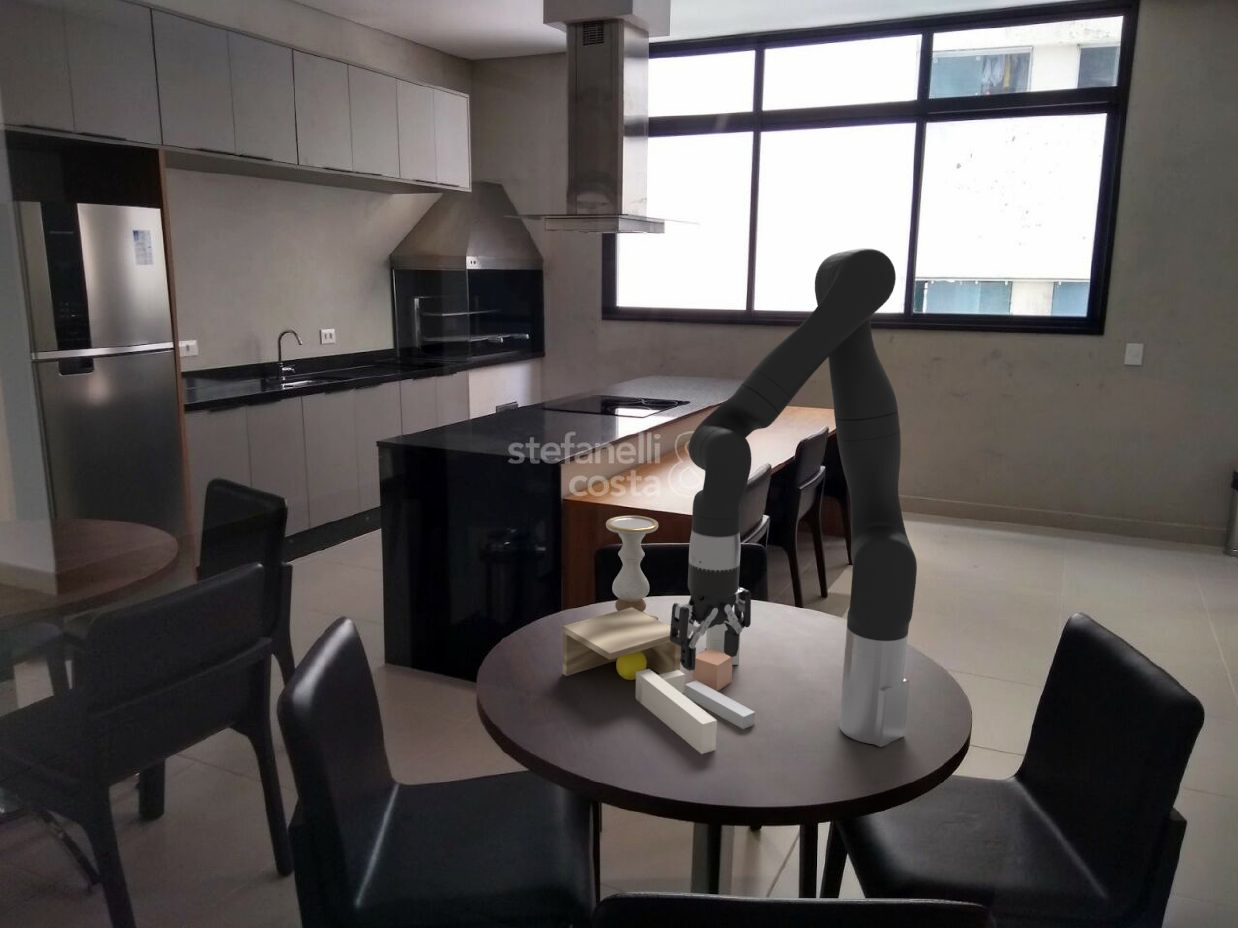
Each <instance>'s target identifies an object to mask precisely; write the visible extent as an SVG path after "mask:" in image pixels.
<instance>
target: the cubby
mask: <svg viewBox="0 0 1238 928" xmlns="http://www.w3.org/2000/svg"><path fill="white" fill-rule="evenodd" d="M644 613H645V612H644ZM644 613H642V612H640V611H638V610H636V609H634V608H632V607H631V608H628V609H624V610H620V611H617V610H616V612H615V611H613V612H609V613H605V614H602V615H598V616H595V617H590V618H587V619H583V620H580V621H576V622H573V623H569V624H565V625H562V674H563V675H564V676H566V677H568V676H571V675H574V674H577V673H580V672H584V671H587V670H590V669H593V668H597V667H600V666H603V665H606V664H610V663H613V662H617V659H618V657H622V656H625V655H628V654H631V653H635V652H638V651H642V652H643V654H644V655H645V657H646V661H647V665H646V667H647V668H648V669H650V670H652V671H655V673H656V672H657V673H658V674H663V673H667V672H671V671H676V670H679V671H681V663H680V656H681V646H679V645H677V644H675V643H673V642H672V641H670V628H671V625H668V624H666V623H664V622H662V621H660V620H659V619H658V620H656V619H654V618H652V617H650V616H648V615H649V614H647V613H646V614H647V615H646V614H644ZM678 635H679V631H678Z"/></svg>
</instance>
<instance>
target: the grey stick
mask: <svg viewBox="0 0 1238 928" xmlns="http://www.w3.org/2000/svg"><path fill="white" fill-rule="evenodd" d="M684 696H686V697H687V698H688V699H690V700H691V701H692V702H693V703H695V704H697V705H700V706H701V707H703V708H705V709H707V710H709V711H711V712H712V713H714V714H715V715H717V716H719V717H720V718H723V719H724V720H725V721H727V722H730V723H731V724H733V725H734V726H737V727H738V728H740V729H742V730H744V729H747V728H750V727H751V726H754V725H755V724H756V723H755V720H756V711H754V710H752V709H750V708H748V707H746V706H744V705H743V704H741V703H739V702H737V701H735V700H734V699H732V698H730V697H728V696H726V695H725V694H722V693H721V692H719V691H715V690H713V689H711V688H710V687H708V686H706V685H704V684H702V683H700V682H698V681H697V680H696V681H693V680H692V681H691V682H687V683H685V684H684Z"/></svg>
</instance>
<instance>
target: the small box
mask: <svg viewBox="0 0 1238 928" xmlns="http://www.w3.org/2000/svg"><path fill="white" fill-rule="evenodd" d="M732 610H733V612H734V606H733V608H732ZM726 630H727V628H726V627H725V626H724V624H721V625H715V626H713V627H711V628H707V630H706V637H705V638H706V640H705V642H706V643H705V647H706V648H705V649H706V650H707V649H712V650H715V651H718V652H722V653H724V635H725V631H726ZM740 644H741V633H740V634H739V649H738V652H737V655H736V656H734V657H733V663H732V666H733V665H734V666H738V665H739V664H740V647H741V646H740Z"/></svg>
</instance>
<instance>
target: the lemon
mask: <svg viewBox="0 0 1238 928" xmlns="http://www.w3.org/2000/svg"><path fill="white" fill-rule="evenodd" d="M615 662H616V663H615V664H616V671H617V673H618V675H619V676H620V677H622V679H624V680H627V681H633V680H636V672H637V671H642V670H646V669H647V666H646V665H647V661H646V657H645V655H644V654H643V652H642V651H638V652H635V653H631V654H628V655H625V656H622V657H618V659H617V661H615Z"/></svg>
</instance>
